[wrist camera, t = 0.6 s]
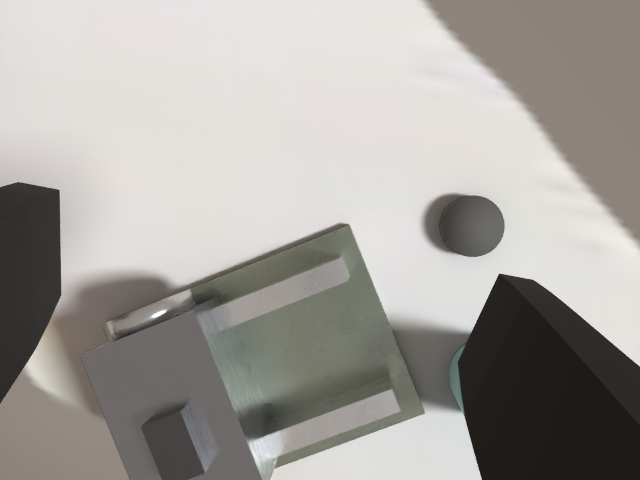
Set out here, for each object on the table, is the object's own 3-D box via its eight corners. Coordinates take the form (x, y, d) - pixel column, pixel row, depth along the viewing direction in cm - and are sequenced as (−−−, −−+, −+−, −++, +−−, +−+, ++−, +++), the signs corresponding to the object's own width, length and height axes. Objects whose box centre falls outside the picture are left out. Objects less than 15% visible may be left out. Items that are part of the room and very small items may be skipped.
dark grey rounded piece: (507, 242, 31) (513, 243, 29) (451, 263, 31) (454, 265, 30) (486, 187, 31) (491, 186, 29) (430, 209, 31) (433, 208, 30)
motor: (423, 410, 31) (439, 460, 25) (177, 500, 32) (130, 570, 26) (349, 224, 31) (344, 225, 25) (105, 322, 32) (40, 348, 26)
